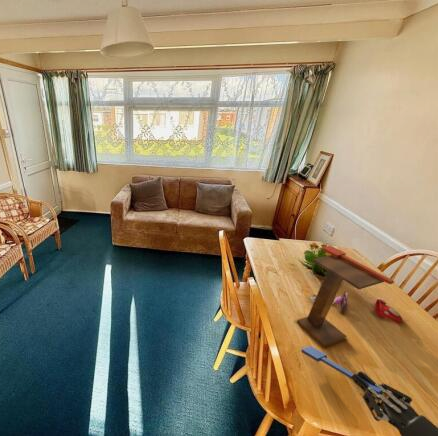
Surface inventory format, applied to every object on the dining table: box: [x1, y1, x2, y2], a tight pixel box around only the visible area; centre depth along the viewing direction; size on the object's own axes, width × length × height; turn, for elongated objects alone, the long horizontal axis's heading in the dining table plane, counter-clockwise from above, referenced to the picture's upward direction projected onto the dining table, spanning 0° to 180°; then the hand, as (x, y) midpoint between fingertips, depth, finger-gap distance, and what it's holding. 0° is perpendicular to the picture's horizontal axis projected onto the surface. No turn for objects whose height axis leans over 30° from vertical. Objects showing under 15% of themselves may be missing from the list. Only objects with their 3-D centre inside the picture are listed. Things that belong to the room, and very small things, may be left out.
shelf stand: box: [296, 255, 385, 348], centre depth 88 cm, size 16×14×32 cm
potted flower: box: [298, 242, 342, 280], centre depth 123 cm, size 25×24×18 cm
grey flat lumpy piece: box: [309, 294, 317, 304], centre depth 109 cm, size 7×8×2 cm
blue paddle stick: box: [301, 345, 383, 394], centre depth 74 cm, size 22×4×1 cm, turn 17°
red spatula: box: [321, 245, 395, 285], centre depth 83 cm, size 22×4×1 cm, turn 17°
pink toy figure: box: [332, 290, 349, 315], centre depth 106 cm, size 7×5×9 cm
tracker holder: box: [373, 297, 404, 324], centre depth 102 cm, size 12×4×10 cm
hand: (356, 374), depth 69 cm, fingers closed on blue paddle stick, 1 cm apart
